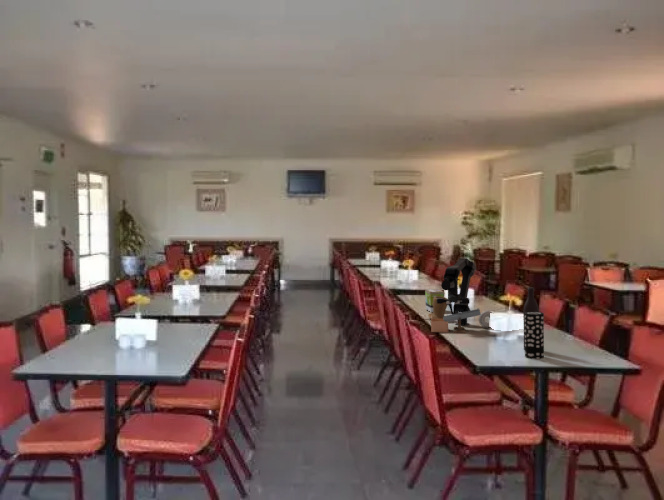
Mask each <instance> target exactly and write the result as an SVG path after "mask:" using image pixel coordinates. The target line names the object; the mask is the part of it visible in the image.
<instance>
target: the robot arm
mask: <svg viewBox="0 0 664 500" xmlns="http://www.w3.org/2000/svg"><path fill="white" fill-rule="evenodd" d="M476 269H477V267H476V264H475V263H474V261H471V260H470V259H468V258H467V257H464V258H463V257H462V258H459V259H458V261H457V262H456V263H454V264H453V265H451V266H450V265H449V266H447V267H446V268H445V272H444V274H443V279H442V280H443V281H442V282H441V285H440V287H441V289H442V291H447V299H443V298H437V304H442V303H443V302H446V305H447V306H448V308H449V310H450V313H451V315H452V314H457V313H461V312H466V311H471V310H472V309H470V305H469V304H470V298H469V297H468V293H469V288H470V283H471V278H472V277H473V276H474V275H475V272H476ZM460 274H462V278H461V285H460V289H459V288H458V287H459V285H458V284H459V283H458V281H459V276H460ZM458 291H459V292H458ZM453 303H454V304H453ZM452 304H453V306H452ZM455 325H457V326H458V322H457V323H456V322H455ZM468 325H470V322H468V318H464V319H461V326H468Z"/></svg>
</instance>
